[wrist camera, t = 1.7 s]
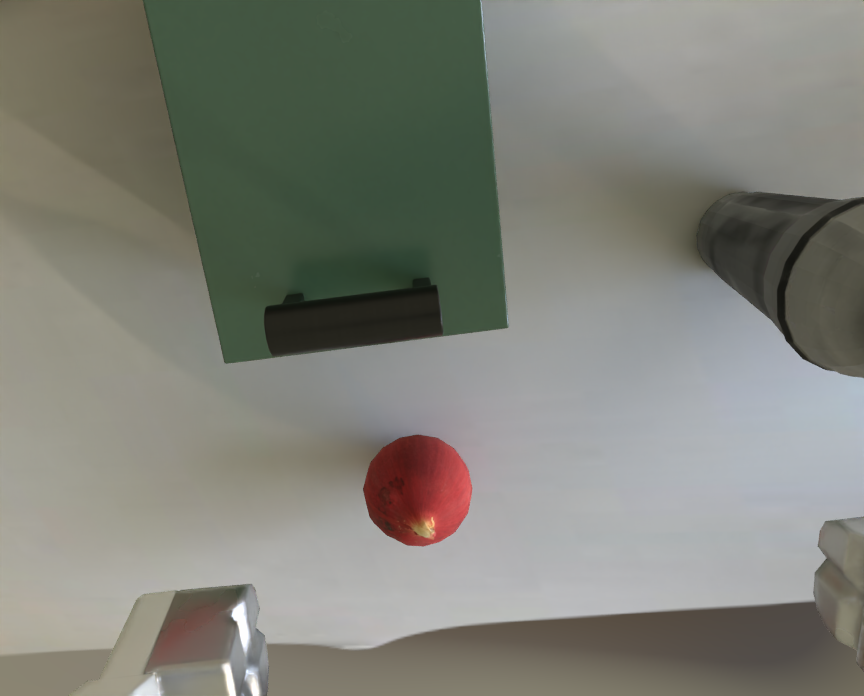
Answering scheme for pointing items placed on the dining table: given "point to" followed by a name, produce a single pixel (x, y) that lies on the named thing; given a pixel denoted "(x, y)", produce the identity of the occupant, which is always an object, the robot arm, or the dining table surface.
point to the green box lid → (335, 168)
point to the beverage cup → (795, 268)
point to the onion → (418, 490)
